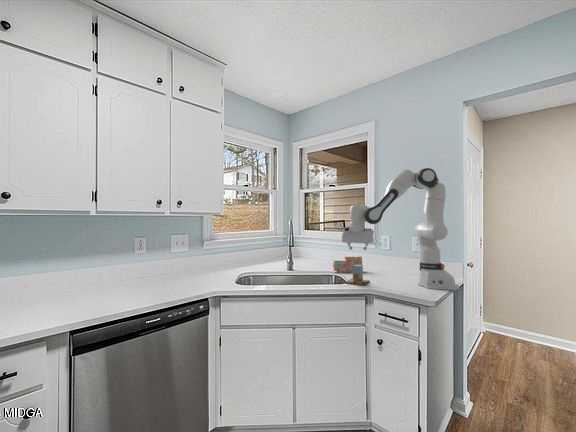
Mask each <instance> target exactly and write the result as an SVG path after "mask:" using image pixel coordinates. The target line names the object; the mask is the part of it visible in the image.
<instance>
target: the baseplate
mask: <svg viewBox="0 0 576 432" xmlns="http://www.w3.org/2000/svg"><path fill="white" fill-rule="evenodd" d="M369 283H370V280H369V279H368V280H366V279H363V281H361V282H355V281H353V278H350V279H348V280H347V281H345V284H346V285H356V286H364V287H365V286H366V285H368V284H369Z"/></svg>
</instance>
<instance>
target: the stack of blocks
mask: <svg viewBox="0 0 576 432" xmlns="http://www.w3.org/2000/svg"><path fill="white" fill-rule="evenodd" d="M332 262H333V264H332V266H333V270H334V271H337V272H336V273H353V265H363V257H362V255H344V259H333V261H332ZM334 271H333V272H334Z"/></svg>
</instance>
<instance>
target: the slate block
mask: <svg viewBox="0 0 576 432" xmlns="http://www.w3.org/2000/svg"><path fill="white" fill-rule="evenodd" d="M363 265H364V264H362V265H353V272H352V275H353V274H362V273H363V274H364V268H363V267H364V266H363Z"/></svg>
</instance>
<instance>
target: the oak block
mask: <svg viewBox="0 0 576 432" xmlns="http://www.w3.org/2000/svg"><path fill="white" fill-rule="evenodd" d="M352 279H353V281H355V282H361V281H363V280H364V272H363V273H362V274H353V273H352Z"/></svg>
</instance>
